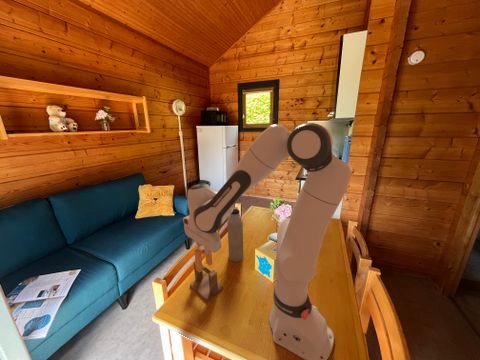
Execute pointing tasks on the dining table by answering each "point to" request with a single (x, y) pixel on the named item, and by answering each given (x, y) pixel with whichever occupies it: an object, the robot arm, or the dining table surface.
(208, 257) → the cord bight
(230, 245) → the thermos bottle
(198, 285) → the hook rail
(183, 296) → the dining table surface
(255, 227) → the dining table surface
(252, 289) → the dining table surface
